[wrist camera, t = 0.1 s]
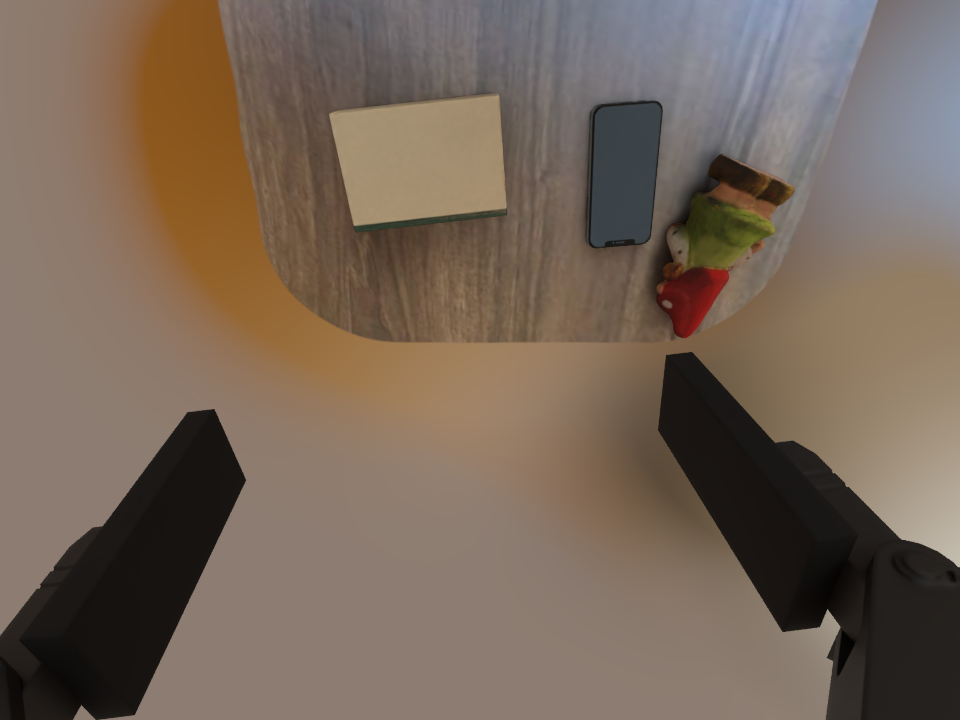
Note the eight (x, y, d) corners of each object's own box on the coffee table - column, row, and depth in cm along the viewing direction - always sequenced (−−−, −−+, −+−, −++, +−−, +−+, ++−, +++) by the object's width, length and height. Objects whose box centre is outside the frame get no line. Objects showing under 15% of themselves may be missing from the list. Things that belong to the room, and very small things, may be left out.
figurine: (704, 146, 56) (623, 299, 66) (724, 158, 48) (629, 328, 59) (795, 180, 56) (699, 327, 66) (828, 197, 49) (715, 360, 59)
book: (361, 220, 56) (355, 232, 52) (337, 110, 51) (328, 113, 46) (502, 204, 56) (507, 215, 52) (494, 92, 51) (499, 94, 47)
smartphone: (665, 99, 51) (651, 244, 58) (659, 99, 53) (646, 240, 60) (592, 105, 51) (587, 249, 58) (588, 105, 52) (584, 245, 59)
